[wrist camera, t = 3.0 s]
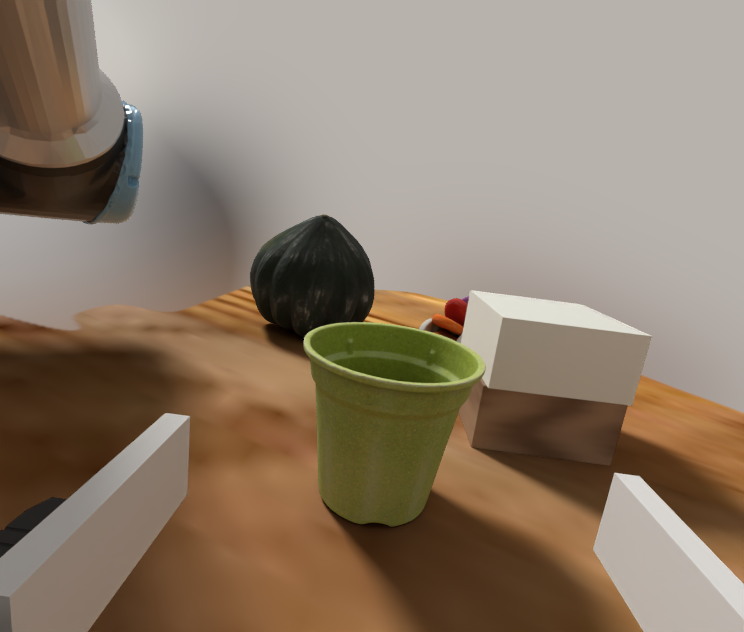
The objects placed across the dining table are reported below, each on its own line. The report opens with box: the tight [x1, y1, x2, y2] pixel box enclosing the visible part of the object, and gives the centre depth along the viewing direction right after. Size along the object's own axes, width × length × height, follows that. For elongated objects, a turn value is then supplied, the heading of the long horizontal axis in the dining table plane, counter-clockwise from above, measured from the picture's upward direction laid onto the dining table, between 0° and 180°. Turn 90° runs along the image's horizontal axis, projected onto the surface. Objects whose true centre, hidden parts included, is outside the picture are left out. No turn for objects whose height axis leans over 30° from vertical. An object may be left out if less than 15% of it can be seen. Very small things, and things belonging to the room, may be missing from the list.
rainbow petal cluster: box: [419, 297, 469, 343], centre depth 52 cm, size 8×10×7 cm
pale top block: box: [461, 290, 652, 406], centre depth 34 cm, size 10×10×5 cm
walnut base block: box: [459, 378, 628, 466], centre depth 36 cm, size 10×10×5 cm
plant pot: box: [304, 322, 486, 527], centre depth 24 cm, size 9×9×9 cm
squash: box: [250, 215, 374, 338], centre depth 53 cm, size 14×15×15 cm
